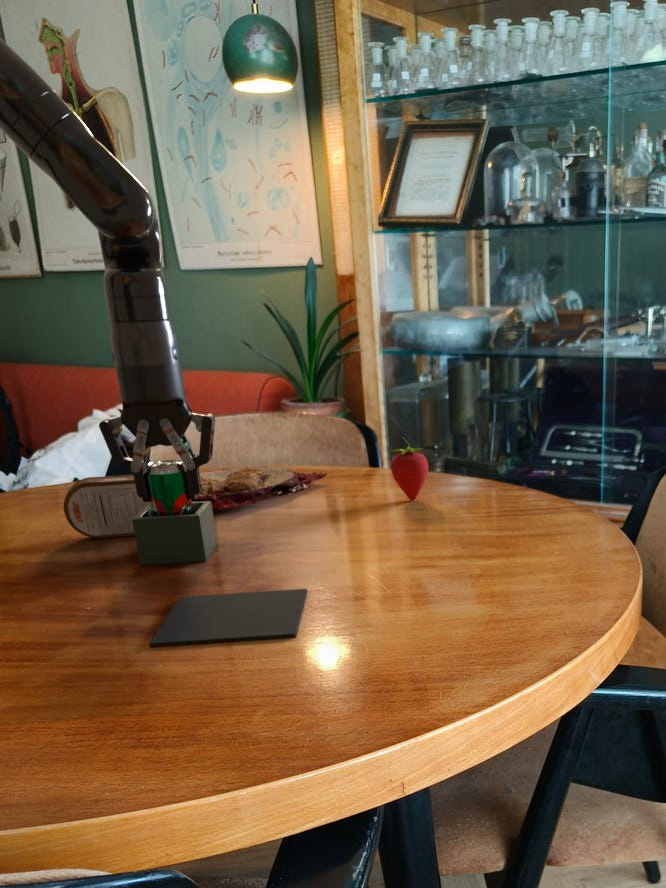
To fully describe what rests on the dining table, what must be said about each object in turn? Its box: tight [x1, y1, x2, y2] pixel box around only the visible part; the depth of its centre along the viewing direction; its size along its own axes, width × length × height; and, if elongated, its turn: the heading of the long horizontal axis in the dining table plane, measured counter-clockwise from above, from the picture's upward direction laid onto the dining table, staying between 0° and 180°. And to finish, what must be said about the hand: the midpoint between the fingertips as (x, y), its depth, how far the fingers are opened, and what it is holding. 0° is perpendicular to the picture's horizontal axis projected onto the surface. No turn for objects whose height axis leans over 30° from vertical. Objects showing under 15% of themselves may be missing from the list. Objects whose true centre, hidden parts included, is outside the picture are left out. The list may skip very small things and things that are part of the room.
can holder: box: [132, 500, 218, 566], centre depth 114 cm, size 8×8×6 cm
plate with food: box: [194, 466, 327, 512], centre depth 149 cm, size 24×26×3 cm
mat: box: [148, 588, 308, 648], centre depth 92 cm, size 14×14×1 cm
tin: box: [63, 474, 151, 539], centre depth 124 cm, size 15×3×8 cm, turn 102°
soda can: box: [145, 459, 194, 517], centre depth 113 cm, size 5×5×12 cm
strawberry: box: [389, 436, 429, 502], centre depth 138 cm, size 6×8×10 cm
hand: (170, 498), depth 113 cm, fingers closed on soda can, 5 cm apart
